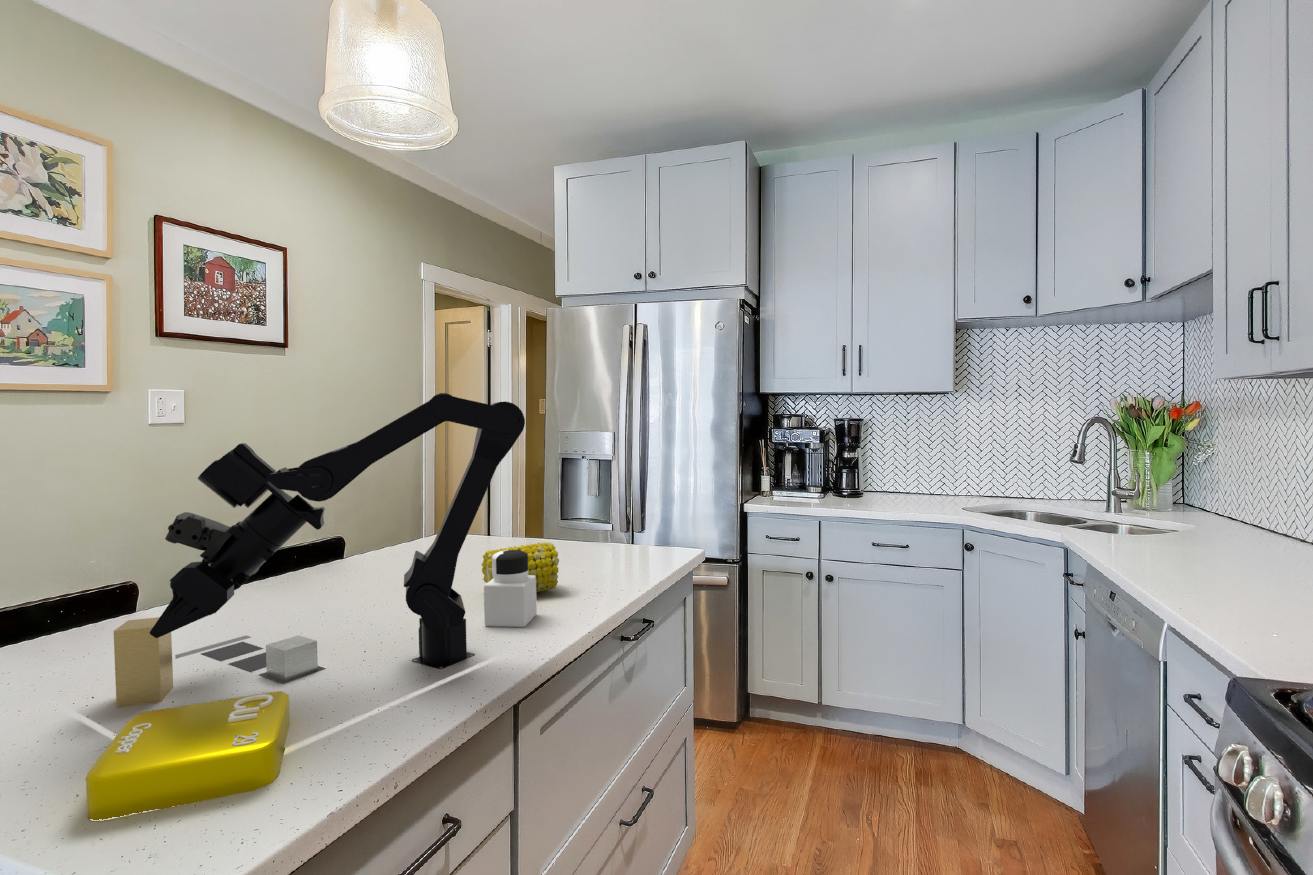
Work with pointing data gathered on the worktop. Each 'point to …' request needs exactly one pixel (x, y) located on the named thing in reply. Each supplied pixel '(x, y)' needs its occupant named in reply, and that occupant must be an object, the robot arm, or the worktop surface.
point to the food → (531, 564)
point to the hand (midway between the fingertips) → (166, 624)
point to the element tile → (190, 755)
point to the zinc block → (291, 657)
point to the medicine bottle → (510, 591)
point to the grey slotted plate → (245, 664)
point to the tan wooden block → (142, 663)
